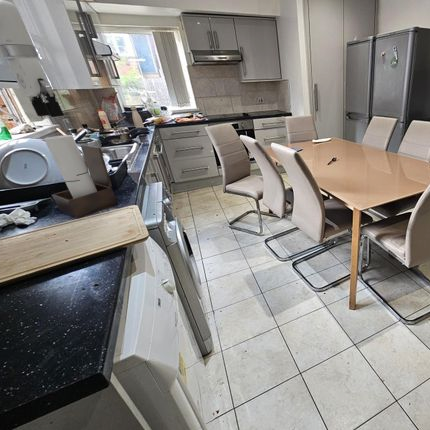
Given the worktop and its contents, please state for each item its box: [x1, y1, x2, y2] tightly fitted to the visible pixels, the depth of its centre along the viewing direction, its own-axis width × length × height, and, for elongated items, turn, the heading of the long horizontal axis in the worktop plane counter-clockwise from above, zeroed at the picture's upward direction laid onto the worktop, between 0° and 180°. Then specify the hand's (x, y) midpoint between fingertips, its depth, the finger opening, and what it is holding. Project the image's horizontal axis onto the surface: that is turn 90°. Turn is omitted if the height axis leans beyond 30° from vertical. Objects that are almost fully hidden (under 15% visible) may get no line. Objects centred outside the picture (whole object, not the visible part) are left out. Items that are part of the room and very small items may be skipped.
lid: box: [80, 144, 113, 188], centre depth 101 cm, size 14×13×5 cm
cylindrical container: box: [43, 134, 97, 199], centre depth 94 cm, size 7×7×25 cm
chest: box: [51, 182, 119, 219], centre depth 99 cm, size 13×13×7 cm
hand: (50, 116), depth 86 cm, fingers open, 9 cm apart
